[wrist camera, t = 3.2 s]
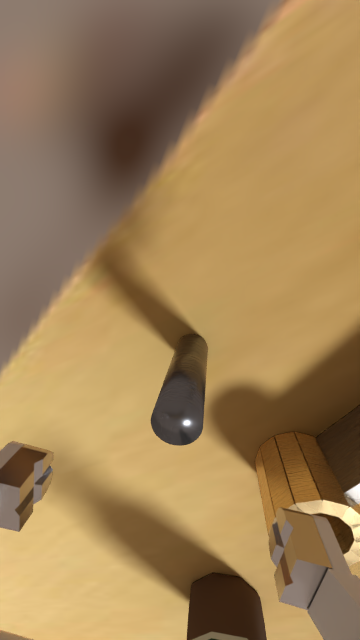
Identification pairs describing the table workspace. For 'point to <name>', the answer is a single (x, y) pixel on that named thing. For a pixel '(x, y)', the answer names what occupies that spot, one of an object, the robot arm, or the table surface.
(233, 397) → the table surface
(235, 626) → the beer bottle
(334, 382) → the table surface
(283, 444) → the hinge
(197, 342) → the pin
